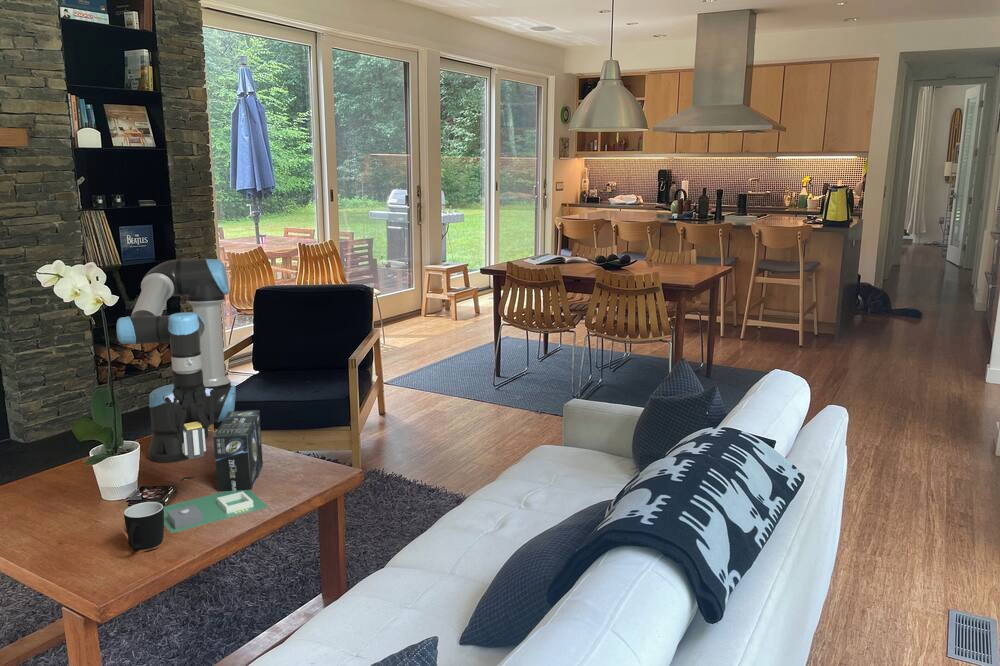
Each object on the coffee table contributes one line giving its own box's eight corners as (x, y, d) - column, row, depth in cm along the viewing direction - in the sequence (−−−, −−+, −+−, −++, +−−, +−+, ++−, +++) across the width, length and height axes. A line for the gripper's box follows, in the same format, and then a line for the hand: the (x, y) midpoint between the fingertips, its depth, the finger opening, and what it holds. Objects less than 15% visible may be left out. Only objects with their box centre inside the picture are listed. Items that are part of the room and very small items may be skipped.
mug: (139, 537, 197) (135, 501, 195) (173, 538, 196) (169, 502, 194) (113, 561, 185) (109, 522, 183) (150, 562, 185) (146, 523, 183)
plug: (185, 455, 212) (182, 424, 210) (199, 451, 214) (197, 421, 213) (189, 460, 208) (187, 428, 207) (204, 456, 211) (202, 425, 209)
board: (153, 512, 211) (151, 498, 210) (245, 489, 227) (245, 476, 226) (171, 536, 197) (169, 522, 197) (268, 510, 213) (267, 496, 212)
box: (252, 494, 224) (248, 433, 220) (217, 496, 223) (212, 435, 219) (264, 465, 247) (260, 409, 243) (232, 467, 245) (227, 410, 241)
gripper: (157, 378, 199) (165, 462, 203) (223, 368, 209) (229, 449, 214) (150, 372, 204) (158, 454, 209) (215, 362, 215) (221, 441, 219)
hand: (194, 451), depth 211 cm, fingers closed on plug, 4 cm apart
